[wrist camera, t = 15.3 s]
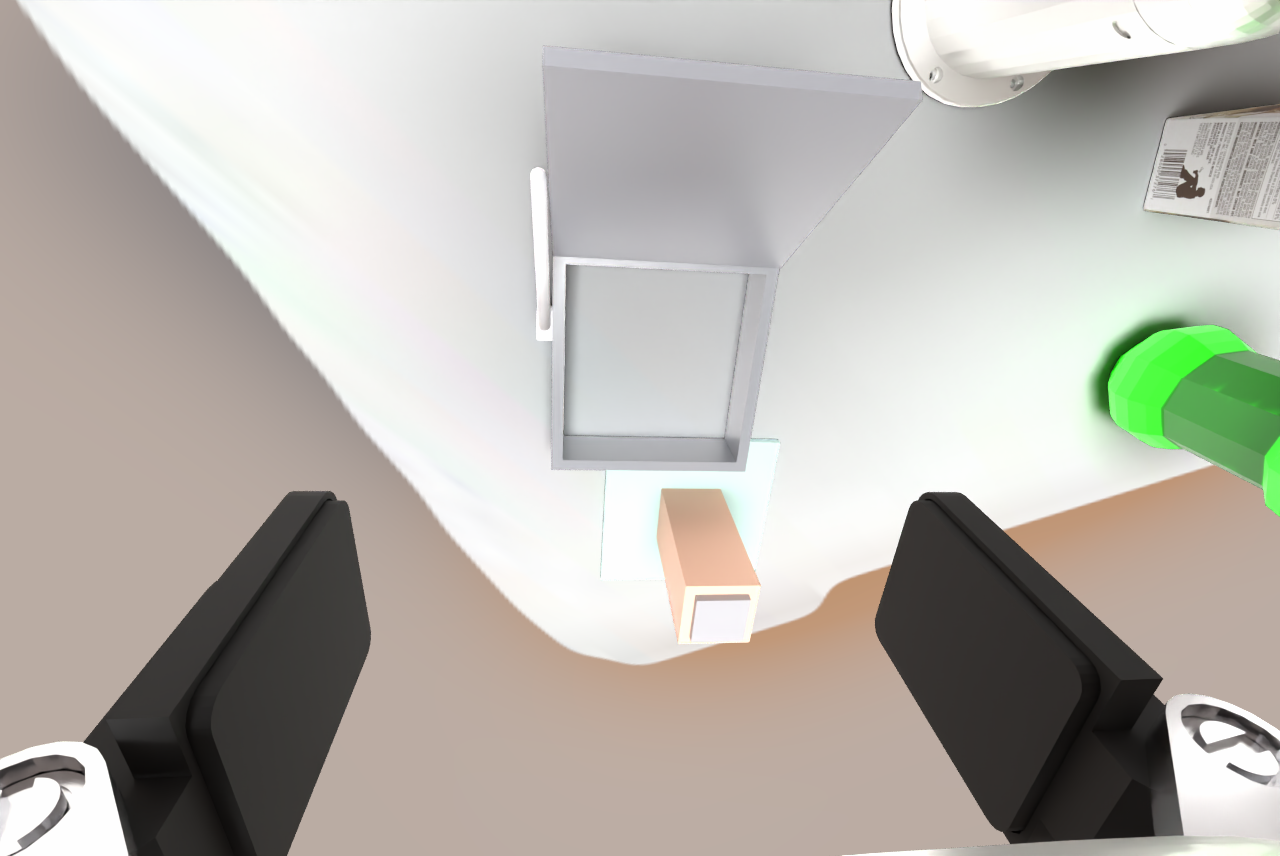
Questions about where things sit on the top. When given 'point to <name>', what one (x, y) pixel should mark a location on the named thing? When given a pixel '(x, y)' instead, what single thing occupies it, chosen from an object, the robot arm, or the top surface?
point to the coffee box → (1220, 167)
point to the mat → (638, 505)
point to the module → (705, 568)
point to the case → (692, 200)
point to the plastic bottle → (1204, 401)
